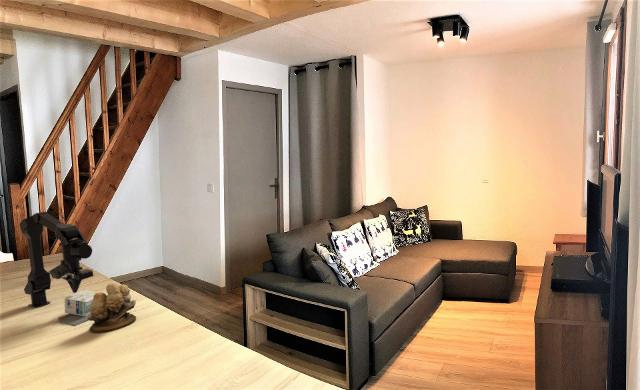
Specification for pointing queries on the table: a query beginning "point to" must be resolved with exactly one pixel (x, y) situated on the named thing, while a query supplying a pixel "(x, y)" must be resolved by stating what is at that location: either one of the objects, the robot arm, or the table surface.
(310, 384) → the table surface
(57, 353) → the table surface
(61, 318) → the walnut kerb
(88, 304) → the light bulb box
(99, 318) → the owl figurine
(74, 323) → the rubber mat
